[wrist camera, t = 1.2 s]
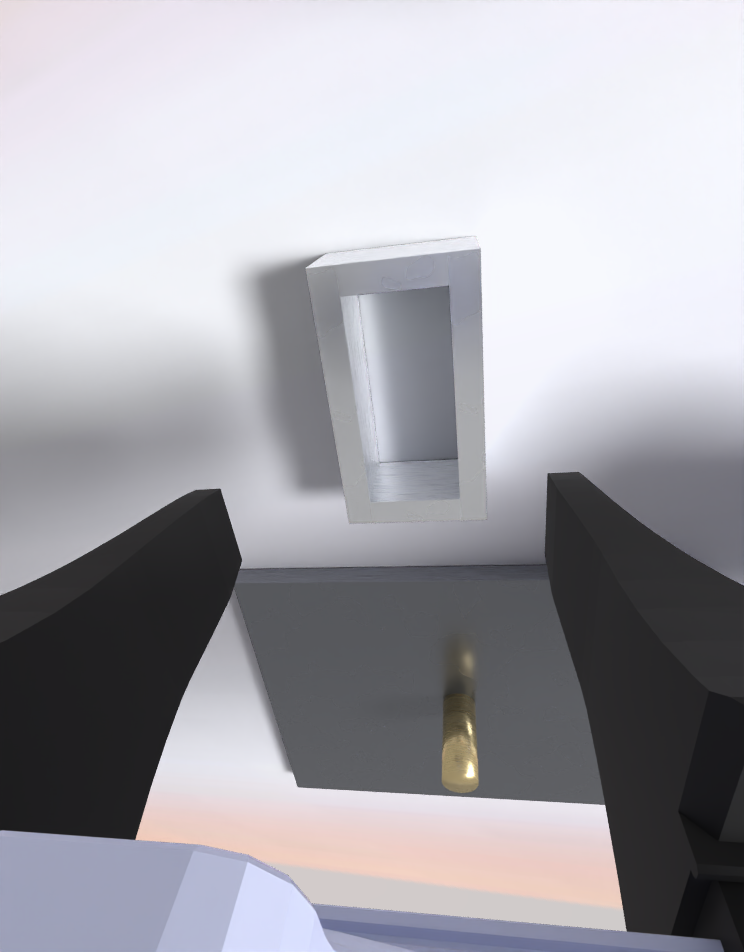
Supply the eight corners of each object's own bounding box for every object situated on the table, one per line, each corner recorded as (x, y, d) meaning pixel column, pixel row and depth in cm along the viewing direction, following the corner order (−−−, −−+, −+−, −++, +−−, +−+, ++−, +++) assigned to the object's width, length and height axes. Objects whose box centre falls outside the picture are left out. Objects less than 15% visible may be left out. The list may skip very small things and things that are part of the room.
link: (325, 253, 18) (305, 268, 16) (476, 235, 17) (480, 248, 15) (360, 482, 23) (349, 523, 20) (483, 477, 22) (486, 519, 19)
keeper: (693, 562, 23) (750, 656, 18) (646, 789, 30) (678, 892, 26) (240, 569, 26) (198, 649, 22) (301, 771, 34) (279, 860, 29)
